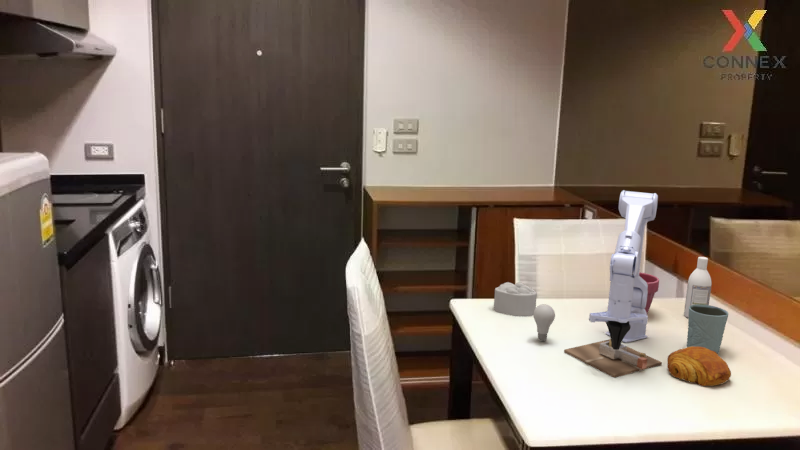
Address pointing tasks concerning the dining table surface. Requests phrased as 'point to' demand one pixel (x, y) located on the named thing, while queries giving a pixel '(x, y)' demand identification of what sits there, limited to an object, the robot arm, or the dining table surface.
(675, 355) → the croissant
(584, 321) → the dining table surface
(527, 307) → the lumpy-topped squat cylinder
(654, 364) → the socket base
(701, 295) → the bath foam
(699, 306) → the embossed teal cup
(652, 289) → the plant pot
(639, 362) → the square frame with handle
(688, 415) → the dining table surface
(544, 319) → the lightbulb
